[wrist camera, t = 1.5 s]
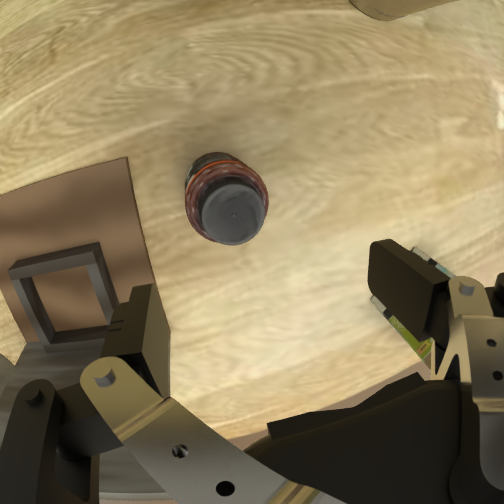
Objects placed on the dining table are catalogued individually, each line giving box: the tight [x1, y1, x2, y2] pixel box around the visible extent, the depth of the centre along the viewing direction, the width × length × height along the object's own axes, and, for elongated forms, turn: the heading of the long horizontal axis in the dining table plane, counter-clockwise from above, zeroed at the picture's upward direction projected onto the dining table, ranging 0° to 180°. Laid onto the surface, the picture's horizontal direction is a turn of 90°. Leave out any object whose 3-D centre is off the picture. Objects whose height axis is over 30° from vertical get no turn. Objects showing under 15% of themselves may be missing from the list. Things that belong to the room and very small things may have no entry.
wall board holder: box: [0, 157, 174, 501], centre depth 19 cm, size 20×20×21 cm
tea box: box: [371, 247, 456, 369], centre depth 34 cm, size 15×10×15 cm
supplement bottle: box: [185, 152, 269, 245], centre depth 24 cm, size 6×6×11 cm
